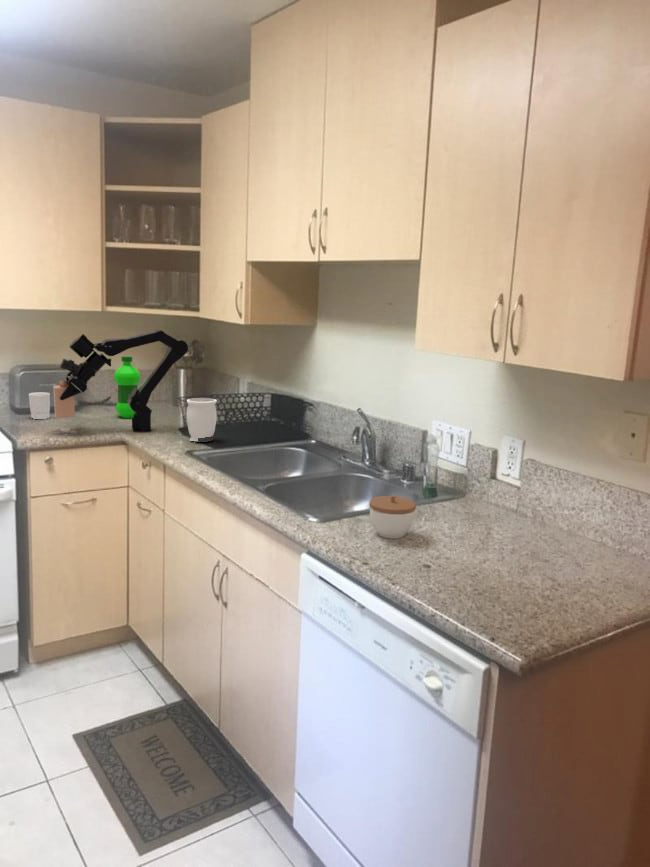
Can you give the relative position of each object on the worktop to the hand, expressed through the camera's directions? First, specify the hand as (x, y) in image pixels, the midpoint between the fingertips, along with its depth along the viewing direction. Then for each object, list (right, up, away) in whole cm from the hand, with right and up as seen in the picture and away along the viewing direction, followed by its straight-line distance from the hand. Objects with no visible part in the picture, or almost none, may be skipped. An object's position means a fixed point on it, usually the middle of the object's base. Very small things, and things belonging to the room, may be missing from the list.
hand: (60, 397), depth 252 cm
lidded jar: (+111, -37, -88) cm, 146 cm away
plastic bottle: (+14, -6, +39) cm, 41 cm away
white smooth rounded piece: (+1, -12, +3) cm, 13 cm away
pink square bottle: (+1, -6, +2) cm, 7 cm away
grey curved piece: (+1, -13, +3) cm, 13 cm away
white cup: (-19, -7, +30) cm, 36 cm away
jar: (+51, -16, 0) cm, 53 cm away
